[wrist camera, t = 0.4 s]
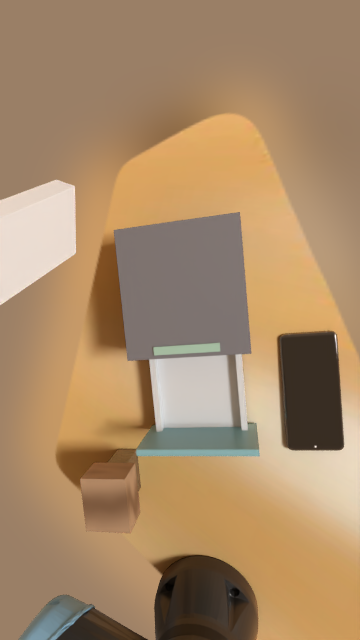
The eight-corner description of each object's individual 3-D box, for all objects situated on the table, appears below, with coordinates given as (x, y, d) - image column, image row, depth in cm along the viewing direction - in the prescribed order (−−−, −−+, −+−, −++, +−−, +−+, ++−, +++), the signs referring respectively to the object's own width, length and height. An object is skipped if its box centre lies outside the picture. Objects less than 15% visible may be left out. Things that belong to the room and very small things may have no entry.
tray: (256, 428, 45) (259, 456, 38) (153, 430, 48) (136, 455, 41) (247, 315, 44) (248, 320, 37) (142, 323, 47) (123, 329, 40)
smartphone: (337, 330, 42) (345, 451, 43) (335, 329, 43) (342, 447, 44) (278, 334, 44) (287, 451, 44) (277, 333, 45) (286, 447, 45)
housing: (249, 343, 45) (251, 353, 37) (145, 350, 48) (127, 361, 40) (240, 225, 44) (239, 211, 36) (134, 240, 47) (113, 229, 39)
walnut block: (140, 512, 44) (130, 533, 41) (99, 510, 46) (86, 531, 42) (135, 462, 44) (124, 479, 40) (94, 462, 45) (80, 478, 41)
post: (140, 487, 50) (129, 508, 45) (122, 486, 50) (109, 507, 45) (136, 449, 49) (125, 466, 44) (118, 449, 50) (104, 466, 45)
